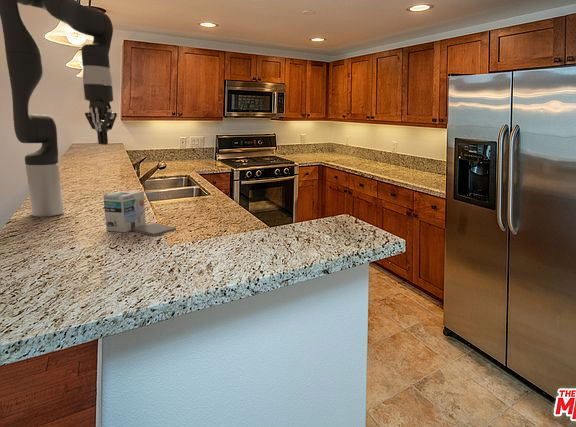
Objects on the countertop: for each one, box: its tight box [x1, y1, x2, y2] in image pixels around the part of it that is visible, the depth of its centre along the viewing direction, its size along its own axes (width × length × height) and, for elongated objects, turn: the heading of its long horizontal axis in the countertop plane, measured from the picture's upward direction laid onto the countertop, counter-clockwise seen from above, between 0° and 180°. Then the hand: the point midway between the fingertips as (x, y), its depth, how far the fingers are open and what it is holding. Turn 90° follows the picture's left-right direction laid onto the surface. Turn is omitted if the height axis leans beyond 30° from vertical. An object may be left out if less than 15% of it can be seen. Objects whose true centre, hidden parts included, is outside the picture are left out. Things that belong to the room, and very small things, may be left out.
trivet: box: [131, 222, 177, 237], centre depth 109 cm, size 10×8×1 cm
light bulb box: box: [103, 189, 147, 233], centre depth 110 cm, size 11×7×11 cm, turn 168°
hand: (103, 144), depth 111 cm, fingers closed
